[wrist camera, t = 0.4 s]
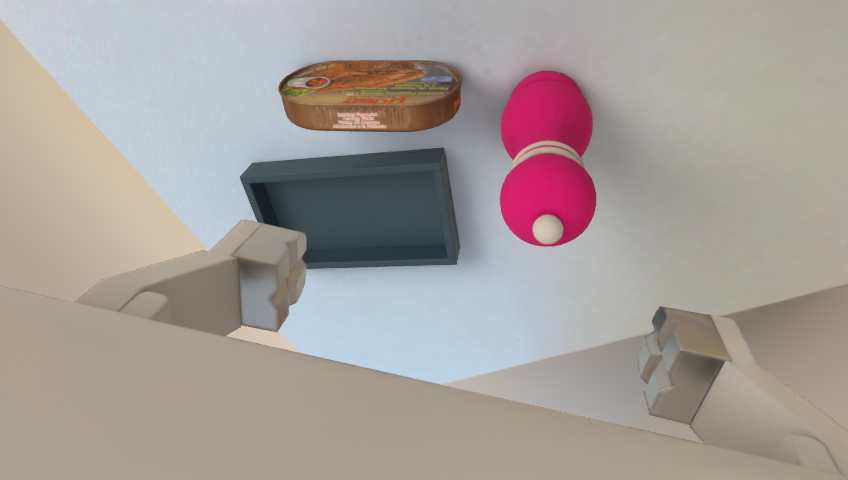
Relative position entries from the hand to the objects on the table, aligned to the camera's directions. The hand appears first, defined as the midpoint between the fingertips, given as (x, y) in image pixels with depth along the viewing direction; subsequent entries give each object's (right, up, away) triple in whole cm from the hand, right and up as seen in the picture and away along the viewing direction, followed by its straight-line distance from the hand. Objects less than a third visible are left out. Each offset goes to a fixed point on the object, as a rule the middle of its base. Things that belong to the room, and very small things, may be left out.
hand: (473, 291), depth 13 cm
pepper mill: (+9, +13, +35) cm, 39 cm away
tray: (-8, +5, +45) cm, 46 cm away
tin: (-5, +16, +36) cm, 40 cm away
